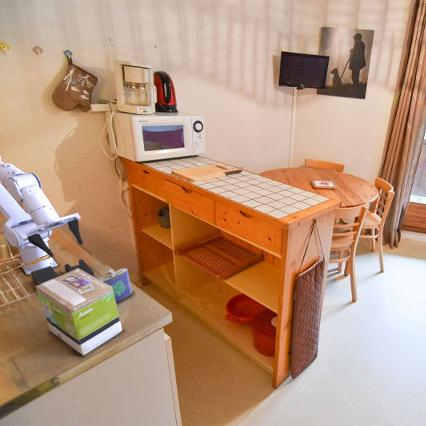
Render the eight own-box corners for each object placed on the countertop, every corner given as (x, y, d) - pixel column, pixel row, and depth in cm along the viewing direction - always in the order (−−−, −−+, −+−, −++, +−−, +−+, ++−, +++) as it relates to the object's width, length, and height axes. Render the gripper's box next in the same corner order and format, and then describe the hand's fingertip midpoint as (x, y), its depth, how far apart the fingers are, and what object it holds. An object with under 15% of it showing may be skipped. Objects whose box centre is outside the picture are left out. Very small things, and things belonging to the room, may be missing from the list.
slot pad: (66, 273, 104) (64, 264, 103) (84, 268, 108) (82, 259, 106) (77, 286, 98) (74, 277, 97) (95, 280, 102) (93, 271, 101)
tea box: (48, 332, 81) (32, 285, 75) (90, 310, 90) (79, 266, 84) (82, 357, 75) (68, 307, 69) (124, 331, 83) (114, 285, 78)
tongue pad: (33, 281, 99) (30, 272, 98) (53, 275, 103) (50, 265, 102) (44, 299, 92) (41, 289, 91) (65, 291, 96) (63, 282, 95)
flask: (129, 291, 98) (123, 261, 94) (134, 294, 97) (129, 265, 93) (97, 306, 91) (89, 275, 87) (102, 311, 90) (94, 279, 86)
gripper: (9, 217, 86) (37, 259, 87) (70, 197, 96) (95, 235, 97) (11, 224, 91) (38, 264, 92) (68, 204, 101) (92, 241, 102)
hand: (67, 249), depth 95 cm, fingers open, 7 cm apart
